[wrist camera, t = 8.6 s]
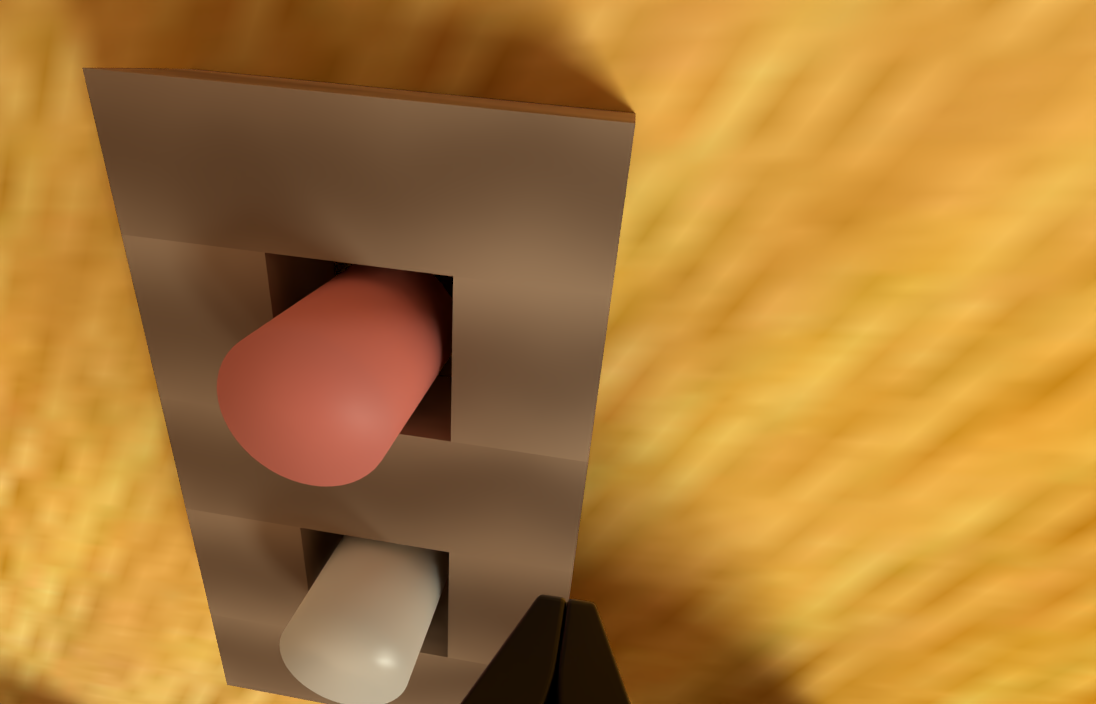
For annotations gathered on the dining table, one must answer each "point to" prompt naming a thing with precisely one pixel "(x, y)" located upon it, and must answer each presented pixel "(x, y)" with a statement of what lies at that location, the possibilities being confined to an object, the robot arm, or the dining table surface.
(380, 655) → the grey plunger
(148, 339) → the press panel
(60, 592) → the dining table surface
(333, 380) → the red plunger
